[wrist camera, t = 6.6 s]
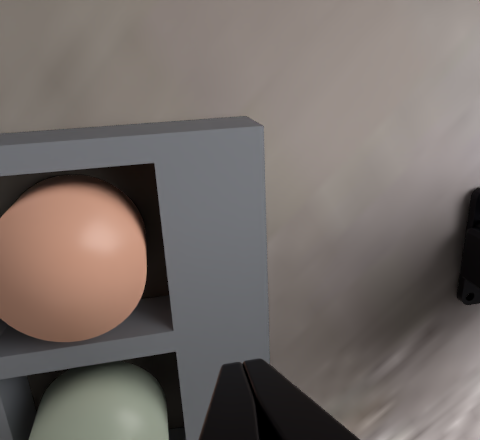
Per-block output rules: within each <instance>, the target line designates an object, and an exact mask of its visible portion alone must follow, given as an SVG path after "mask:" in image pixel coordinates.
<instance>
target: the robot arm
mask: <svg viewBox="0 0 480 440" xmlns="http://www.w3.org/2000/svg"><path fill="white" fill-rule="evenodd" d="M467 294H469V295H468V296H467ZM466 296H467V297H466ZM457 298H458V299H459V300H460V301H461V302H462V303H464V304H466V305H471V304H477V303H480V188H477V189H476V190H475V191H474V192H473V193H472V196H471V201H470V208H469V215H468V222H467V229H466V236H465V243H464V249H463V256H462V263H461V270H460V277H459V284H458V291H457ZM198 440H360V439H359V438H357V437H356V436H355V435H354V434H353V433H351V432H350V431H349V430H348V429H347V428H345V427H344V426H343V425H342V424H341V423H339V422H338V421H337V420H336V419H334V418H333V417H332V416H331V415H330V414H328V413H327V412H326V411H325V410H324V409H322V408H321V407H320V406H319V405H318V404H316V403H315V402H314V401H313V400H312V399H310V398H309V397H308V396H307V395H306V394H304V393H303V392H302V391H301V390H300V389H298V388H297V387H296V386H295V385H294V384H292V383H291V382H290V381H289V380H288V379H286V378H285V377H284V376H283V375H282V374H280V373H279V372H278V371H277V370H276V369H274V368H273V367H272V366H271V365H270V364H268V363H267V362H266V361H265V360H263V359H261V358H257V359H251V360H245V361H244V362H243V363H241V362H233V363H227V364H223V365H222V366H221V369H220V372H219V375H218V378H217V381H216V385H215V388H214V391H213V394H212V397H211V401H210V404H209V407H208V410H207V413H206V417H205V420H204V423H203V426H202V430H201V433H200V436H199V439H198Z"/></svg>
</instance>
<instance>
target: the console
mask: <svg viewBox="0 0 480 440" xmlns="http://www.w3.org/2000/svg"><path fill="white" fill-rule="evenodd" d="M147 163H154V164H155V173H156V181H157V190H158V199H159V207H160V216H161V225H162V234H163V242H164V251H165V260H166V268H167V277H168V286H169V295H167V296H160V297H153V298H145V299H140V301H139V302H138V304H137V306H136V307H135V309H134V310H133V311H132V313H131V314H130V315H129V316H128V317H127V318H126V319H125V320H124V321H123V322H122V323H120V324H119V325H118V326H116V327H115V328H113V329H112V330H110V331H108V332H106V333H104V334H102V335H100V336H97V337H94V338H91V339H87V340H82V341H75V342H53V341H46V340H42V339H37V338H34V337H31V336H28V335H26V334H24V333H22V332H20V331H17V330H16V329H14V328H13V327H11V326H9V325H8V324H7V323H5V322H4V321H3V320H2V319H0V440H29V437H30V433H31V430H32V427H33V424H34V421H35V417H36V414H37V412H36V409H35V405H34V401H33V397H32V393H31V390H30V386H29V382H28V378H27V375H32V374H38V373H45V372H51V371H57V370H64V369H70V368H76V367H82V366H89V365H95V364H101V363H107V362H114V361H120V360H126V359H132V358H139V357H145V356H151V355H158V354H164V353H170V352H176V356H177V364H178V373H179V382H180V390H181V399H182V408H183V417H184V425H185V427H180V428H174V429H169V430H168V434H169V440H198V439H199V436H200V433H201V430H202V426H203V423H204V420H205V417H206V413H207V410H208V407H209V404H210V401H211V397H212V394H213V391H214V388H215V385H216V381H217V378H218V375H219V372H220V369H221V366H222V365H223V364H227V363H233V362H241V363H243V362H244V361H245V360H251V359H257V358H261V359H263V360H265V361H266V362H267V363H268V364H270V351H269V313H268V274H267V236H266V198H265V160H264V126H263V125H261V124H259V123H258V122H256V121H254V120H252V119H250V118H249V117H247V116H242V117H228V118H214V119H200V120H186V121H172V122H158V123H144V124H130V125H116V126H102V127H88V128H74V129H61V130H47V131H33V132H19V133H5V134H0V176H9V175H20V174H32V173H43V172H55V171H66V170H78V169H89V168H101V167H112V166H124V165H135V164H147Z"/></svg>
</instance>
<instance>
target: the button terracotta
mask: <svg viewBox="0 0 480 440" xmlns="http://www.w3.org/2000/svg"><path fill="white" fill-rule="evenodd" d="M146 274H147V240H146V229H145V224H144V222H143V219H142V216H141V214H140V212H139V210H138V209H137V207H136V206H135V204H134V203H133V202H132V201H131V200H130V198H129V197H128V196H127V195H126V194H124V193H123V192H122V191H121V190H120V189H118V188H116V187H115V186H113V185H112V184H110V183H108V182H106V181H103V180H100V179H98V178H95V177H90V176H85V175H61V176H56V177H52V178H48V179H46V180H43V181H41V182H39V183H37V184H35V185H34V186H32V187H30V188H29V189H28V190H27V191H25V192H24V193H23V194H22V195H21V196H20V197H19V198H18V199H17V200H16V201H15V203H14V204H13V205H12V206H11V207H10V208H9V209H8V210H7V211H6V212H5V213H4V214H3V215H2V217H1V218H0V319H2V320H3V321H4V322H5V323H7V324H8V325H9V326H11V327H13V328H14V329H16V330H17V331H20V332H22V333H24V334H26V335H28V336H31V337H34V338H37V339H42V340H46V341H53V342H75V341H82V340H87V339H91V338H94V337H97V336H100V335H102V334H104V333H106V332H108V331H110V330H112V329H113V328H115V327H116V326H118V325H119V324H120V323H122V322H123V321H124V320H125V319H126V318H127V317H128V316H129V315H130V314H131V313H132V311H133V310H134V309H135V307H136V306H137V304H138V302H139V301H140V299H141V296H142V294H143V291H144V287H145V283H146Z"/></svg>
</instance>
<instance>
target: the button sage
mask: <svg viewBox="0 0 480 440" xmlns="http://www.w3.org/2000/svg"><path fill="white" fill-rule="evenodd" d="M29 440H169V434H168V417H167V401H166V396H165V393H164V390H163V388H162V386H161V385H160V383H159V382H158V381H157V380H156V378H155V377H154V376H152V375H151V374H150V373H149V372H147V371H146V370H144V369H143V368H141V367H138V366H136V365H134V364H131V363H127V362H123V361H114V362H107V363H101V364H95V365H89V366H82V367H76V368H71V369H69V370H68V371H66V372H64V373H63V374H61V375H60V376H59V377H57V378H56V379H55V380H54V381H53V382H52V383H51V384H50V385H49V387H48V388H47V389H46V391H45V393H44V394H43V396H42V399H41V402H40V404H39V408H38V411H37V414H36V417H35V421H34V424H33V427H32V430H31V433H30V437H29Z"/></svg>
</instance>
